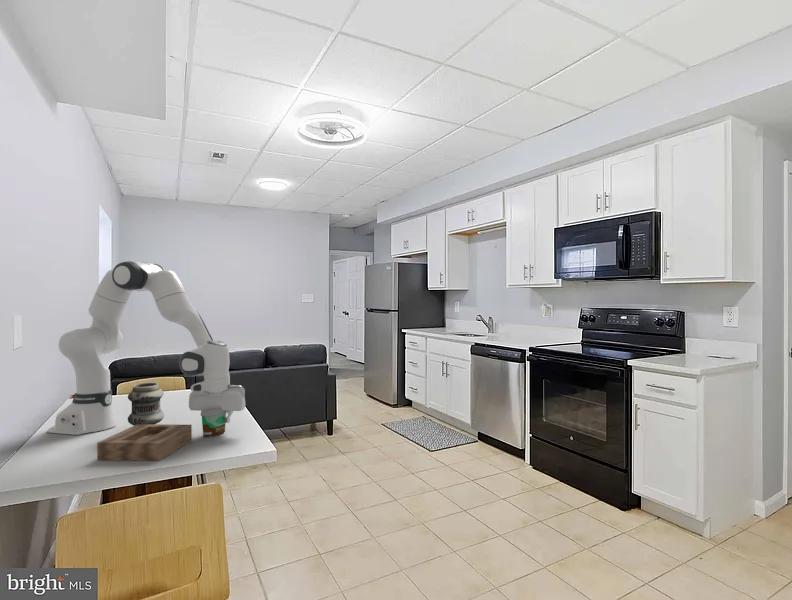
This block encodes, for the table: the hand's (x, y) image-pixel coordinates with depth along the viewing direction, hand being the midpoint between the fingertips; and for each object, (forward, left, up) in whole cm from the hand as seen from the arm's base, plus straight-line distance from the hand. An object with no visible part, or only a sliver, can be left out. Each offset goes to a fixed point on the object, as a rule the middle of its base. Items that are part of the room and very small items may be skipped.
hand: (217, 422), depth 170 cm
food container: (0, 0, -4) cm, 4 cm away
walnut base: (-16, -18, -4) cm, 24 cm away
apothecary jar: (-28, +1, -4) cm, 28 cm away
